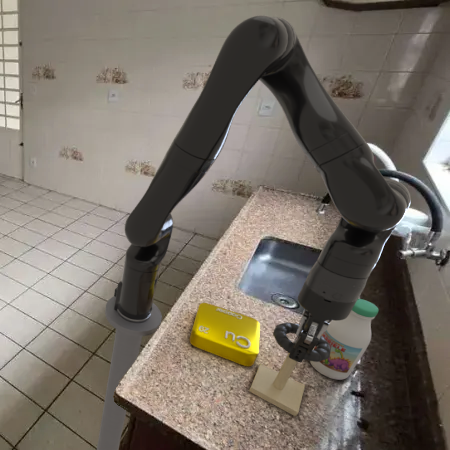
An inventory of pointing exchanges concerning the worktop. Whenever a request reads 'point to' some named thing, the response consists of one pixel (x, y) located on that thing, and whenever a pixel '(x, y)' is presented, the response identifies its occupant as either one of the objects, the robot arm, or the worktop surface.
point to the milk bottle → (347, 341)
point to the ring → (283, 341)
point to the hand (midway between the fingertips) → (296, 354)
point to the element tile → (226, 334)
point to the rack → (279, 386)
